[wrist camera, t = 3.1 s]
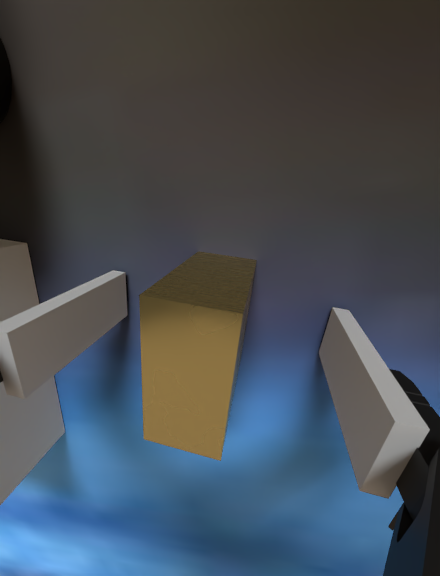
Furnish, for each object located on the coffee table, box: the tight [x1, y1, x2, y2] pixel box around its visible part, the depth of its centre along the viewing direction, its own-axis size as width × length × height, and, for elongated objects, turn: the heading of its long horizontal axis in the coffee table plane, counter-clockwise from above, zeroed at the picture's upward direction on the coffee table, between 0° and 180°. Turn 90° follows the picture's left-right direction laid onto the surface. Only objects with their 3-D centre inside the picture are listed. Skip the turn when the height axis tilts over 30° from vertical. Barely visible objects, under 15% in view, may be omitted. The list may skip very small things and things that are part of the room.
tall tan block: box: [139, 252, 257, 461], centre depth 11 cm, size 6×3×6 cm, turn 175°
